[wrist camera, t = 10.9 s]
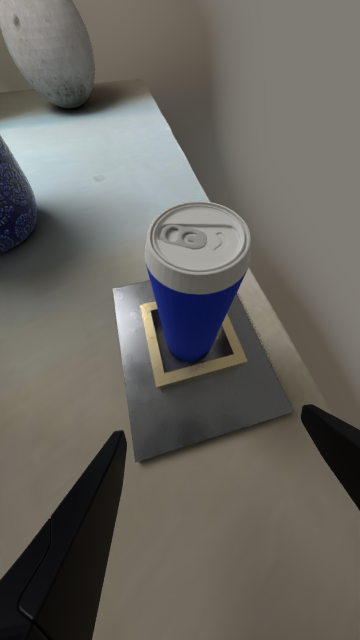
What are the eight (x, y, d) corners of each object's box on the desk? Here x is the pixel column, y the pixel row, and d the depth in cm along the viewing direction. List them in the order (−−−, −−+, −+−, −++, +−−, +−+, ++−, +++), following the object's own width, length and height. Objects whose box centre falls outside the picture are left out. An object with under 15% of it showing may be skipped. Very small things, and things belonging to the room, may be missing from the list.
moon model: (110, 114, 53) (73, -38, 35) (38, 125, 50) (-42, -33, 32) (101, 91, 61) (67, -41, 43) (38, 99, 59) (-25, -37, 41)
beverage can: (213, 326, 22) (258, 203, 9) (207, 367, 20) (257, 289, 7) (172, 319, 23) (156, 192, 9) (162, 359, 21) (124, 270, 7)
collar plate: (289, 411, 19) (312, 412, 16) (137, 460, 17) (126, 473, 14) (221, 268, 27) (226, 248, 24) (114, 291, 26) (104, 274, 22)
